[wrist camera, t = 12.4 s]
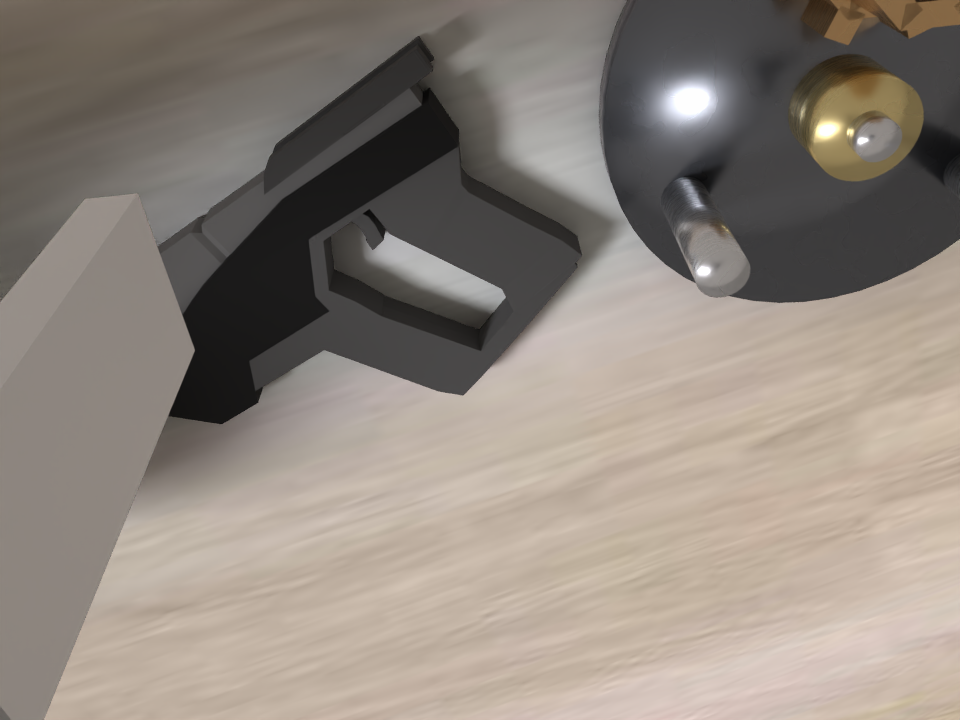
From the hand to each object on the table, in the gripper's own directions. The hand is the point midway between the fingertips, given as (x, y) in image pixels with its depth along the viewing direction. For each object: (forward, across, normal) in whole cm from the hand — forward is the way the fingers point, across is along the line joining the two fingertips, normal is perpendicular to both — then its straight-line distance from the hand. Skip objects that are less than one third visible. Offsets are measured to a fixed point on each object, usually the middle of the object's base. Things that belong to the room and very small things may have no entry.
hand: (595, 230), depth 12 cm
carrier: (+23, +13, -6) cm, 27 cm away
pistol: (+24, -10, -15) cm, 30 cm away
